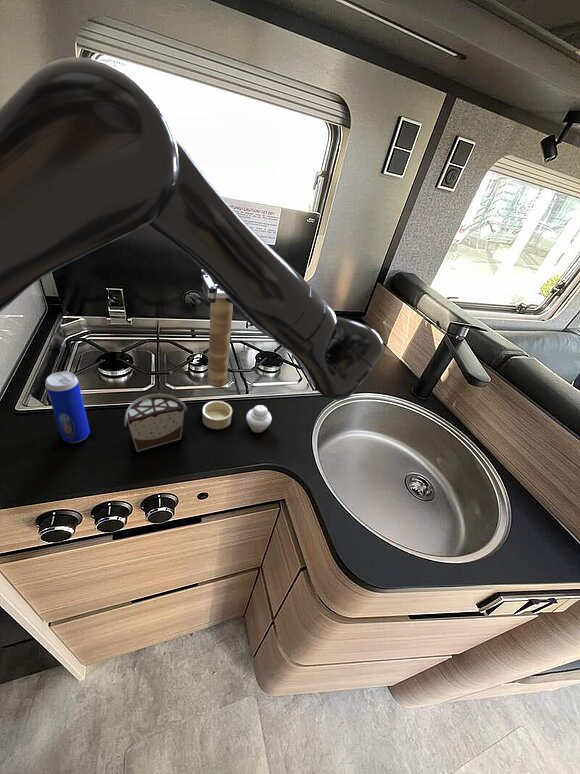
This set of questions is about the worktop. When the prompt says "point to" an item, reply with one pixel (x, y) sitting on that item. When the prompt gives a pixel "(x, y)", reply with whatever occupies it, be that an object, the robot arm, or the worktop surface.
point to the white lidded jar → (258, 418)
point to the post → (219, 342)
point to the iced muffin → (155, 420)
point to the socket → (217, 414)
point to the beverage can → (68, 406)
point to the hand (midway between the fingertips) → (215, 271)
